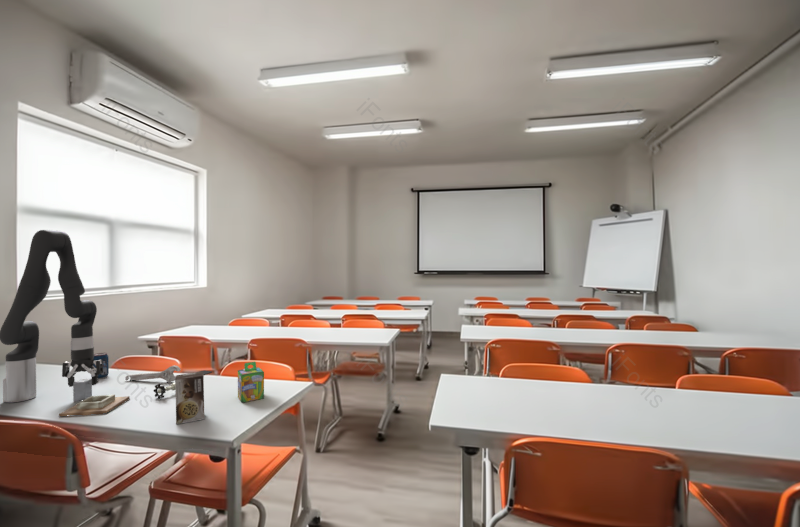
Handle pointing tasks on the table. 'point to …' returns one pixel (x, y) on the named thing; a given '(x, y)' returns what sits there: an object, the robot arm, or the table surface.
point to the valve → (162, 390)
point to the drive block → (82, 389)
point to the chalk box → (250, 383)
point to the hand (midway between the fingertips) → (83, 385)
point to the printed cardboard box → (189, 397)
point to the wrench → (157, 375)
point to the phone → (206, 372)
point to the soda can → (105, 364)
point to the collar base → (95, 405)
